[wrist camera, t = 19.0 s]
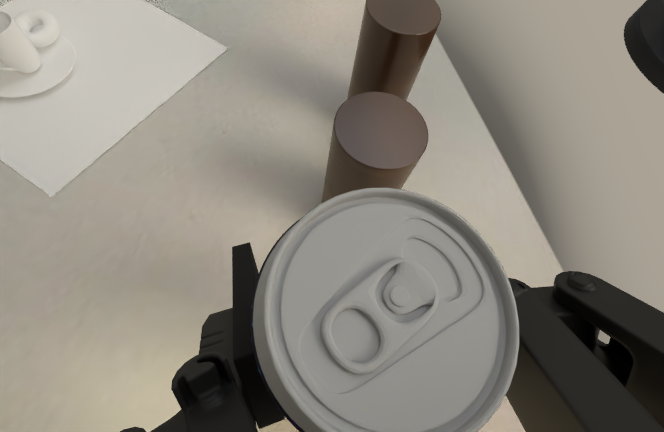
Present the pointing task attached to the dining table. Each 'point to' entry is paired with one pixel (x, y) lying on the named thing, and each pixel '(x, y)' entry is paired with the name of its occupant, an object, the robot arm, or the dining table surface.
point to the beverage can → (384, 318)
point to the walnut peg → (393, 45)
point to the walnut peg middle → (373, 144)
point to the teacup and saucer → (86, 79)
